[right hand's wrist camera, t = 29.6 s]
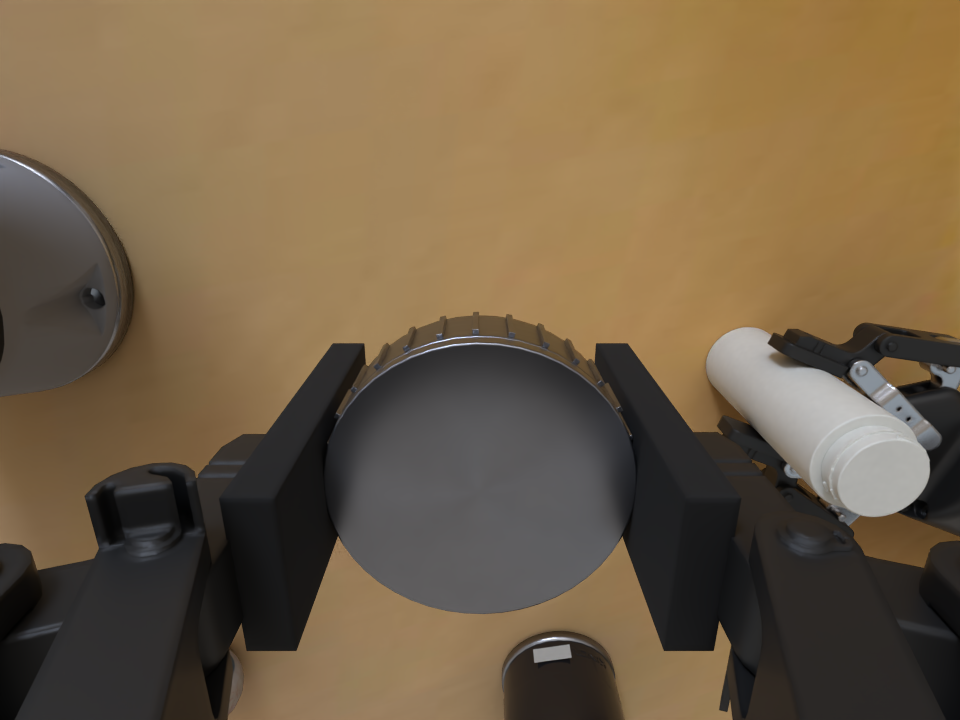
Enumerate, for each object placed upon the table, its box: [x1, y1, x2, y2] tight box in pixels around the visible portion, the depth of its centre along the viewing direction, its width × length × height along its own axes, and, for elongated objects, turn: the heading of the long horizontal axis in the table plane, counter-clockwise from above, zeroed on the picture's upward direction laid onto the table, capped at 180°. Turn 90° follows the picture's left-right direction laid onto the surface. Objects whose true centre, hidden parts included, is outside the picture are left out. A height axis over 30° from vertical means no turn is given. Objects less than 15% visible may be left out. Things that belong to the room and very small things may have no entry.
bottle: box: [706, 327, 930, 517], centre depth 33 cm, size 5×5×15 cm
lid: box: [323, 312, 637, 614], centre depth 11 cm, size 6×6×2 cm
